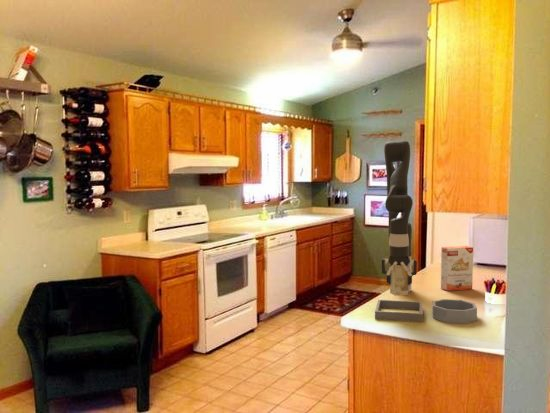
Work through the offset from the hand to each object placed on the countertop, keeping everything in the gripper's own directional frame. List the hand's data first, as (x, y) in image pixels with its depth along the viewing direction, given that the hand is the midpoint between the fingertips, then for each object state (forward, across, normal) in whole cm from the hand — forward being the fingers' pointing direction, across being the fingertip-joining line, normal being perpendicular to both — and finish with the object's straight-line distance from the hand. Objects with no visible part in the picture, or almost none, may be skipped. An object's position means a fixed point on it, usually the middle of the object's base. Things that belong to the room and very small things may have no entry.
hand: (399, 284), depth 192 cm
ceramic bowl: (+12, -21, 0) cm, 24 cm away
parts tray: (+12, 0, 0) cm, 12 cm away
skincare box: (+4, 0, 0) cm, 4 cm away
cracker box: (+13, -26, -48) cm, 56 cm away
